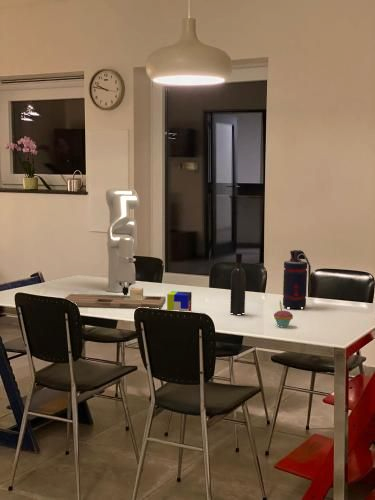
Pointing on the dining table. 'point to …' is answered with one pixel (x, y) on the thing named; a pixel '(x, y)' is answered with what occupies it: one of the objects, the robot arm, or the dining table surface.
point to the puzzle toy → (179, 301)
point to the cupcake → (283, 317)
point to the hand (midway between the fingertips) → (125, 294)
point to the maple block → (136, 293)
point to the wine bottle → (238, 287)
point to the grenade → (296, 280)
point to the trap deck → (116, 301)
